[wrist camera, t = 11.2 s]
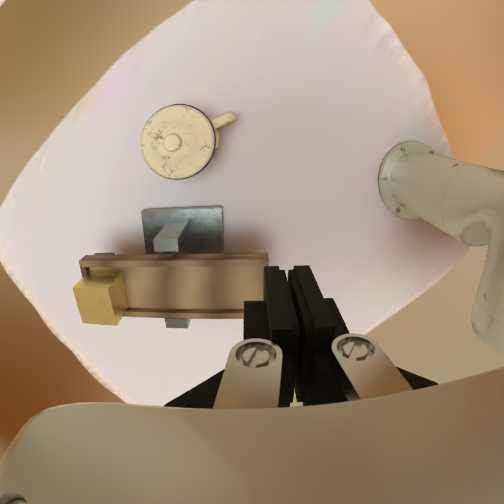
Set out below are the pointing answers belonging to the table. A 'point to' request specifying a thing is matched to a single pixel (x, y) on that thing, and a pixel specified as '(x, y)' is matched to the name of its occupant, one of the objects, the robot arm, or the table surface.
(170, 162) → the teacup with lid
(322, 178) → the table surface
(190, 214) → the pivot stand
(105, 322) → the block
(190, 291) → the balance beam
